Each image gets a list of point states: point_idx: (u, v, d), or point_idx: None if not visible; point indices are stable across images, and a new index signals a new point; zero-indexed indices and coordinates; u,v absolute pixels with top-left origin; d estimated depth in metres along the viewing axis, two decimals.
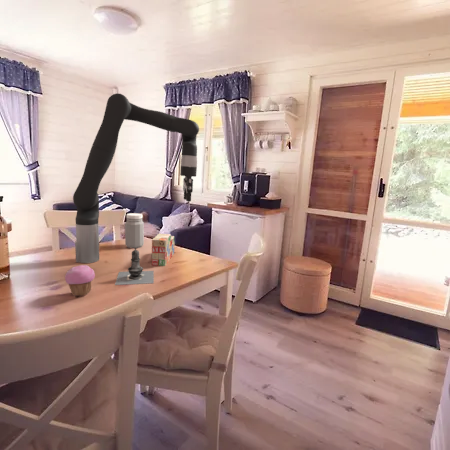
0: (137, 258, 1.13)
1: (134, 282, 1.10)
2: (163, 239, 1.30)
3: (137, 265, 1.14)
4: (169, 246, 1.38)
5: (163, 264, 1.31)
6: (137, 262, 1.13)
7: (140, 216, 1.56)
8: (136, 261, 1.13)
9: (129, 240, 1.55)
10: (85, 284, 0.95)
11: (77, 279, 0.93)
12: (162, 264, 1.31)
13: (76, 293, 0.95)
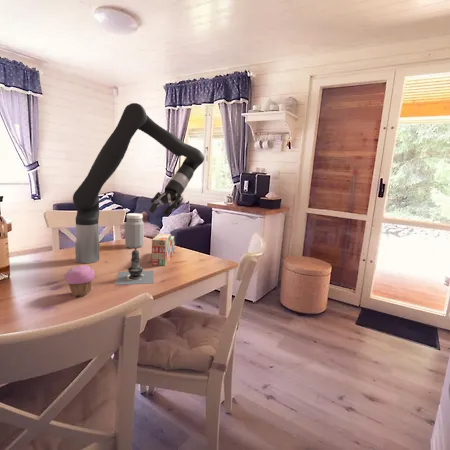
0: (137, 258, 1.13)
1: (134, 282, 1.10)
2: (163, 239, 1.30)
3: (137, 265, 1.14)
4: (169, 246, 1.38)
5: (163, 264, 1.31)
6: (137, 262, 1.13)
7: (140, 216, 1.56)
8: (136, 261, 1.13)
9: (129, 240, 1.55)
10: (85, 284, 0.95)
11: (77, 279, 0.93)
12: (162, 264, 1.31)
13: (76, 293, 0.95)
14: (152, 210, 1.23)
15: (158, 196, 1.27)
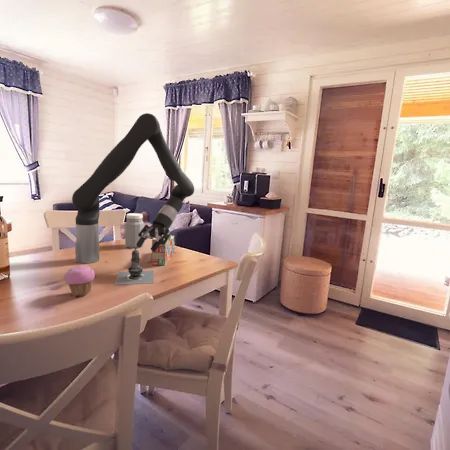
0: (137, 258, 1.13)
1: (134, 282, 1.10)
2: None
3: (137, 265, 1.14)
4: (169, 246, 1.38)
5: (163, 264, 1.31)
6: (137, 262, 1.13)
7: (140, 216, 1.56)
8: (136, 261, 1.13)
9: (129, 240, 1.55)
10: (85, 284, 0.95)
11: (77, 279, 0.93)
12: (162, 264, 1.32)
13: (76, 293, 0.95)
14: (139, 244, 1.20)
15: (146, 229, 1.24)
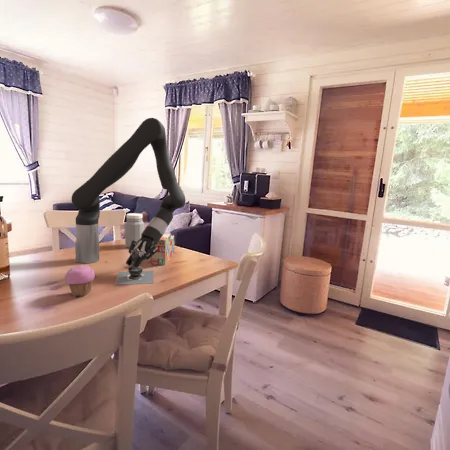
0: None
1: (134, 282, 1.10)
2: (163, 238, 1.31)
3: None
4: (169, 245, 1.39)
5: (163, 263, 1.32)
6: None
7: (140, 216, 1.56)
8: None
9: (129, 240, 1.55)
10: (85, 284, 0.95)
11: (77, 279, 0.93)
12: (162, 263, 1.32)
13: (76, 293, 0.95)
14: (129, 262, 1.14)
15: (134, 244, 1.19)
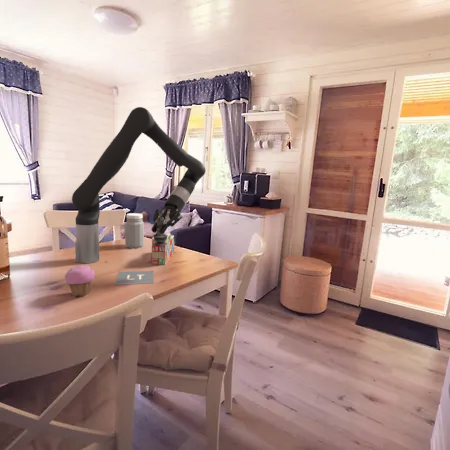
0: None
1: (134, 282, 1.10)
2: None
3: None
4: (169, 245, 1.39)
5: (163, 263, 1.32)
6: None
7: (140, 216, 1.56)
8: None
9: (129, 240, 1.55)
10: (85, 284, 0.95)
11: (77, 279, 0.93)
12: (162, 263, 1.33)
13: (76, 293, 0.95)
14: (154, 229, 1.16)
15: (158, 213, 1.21)
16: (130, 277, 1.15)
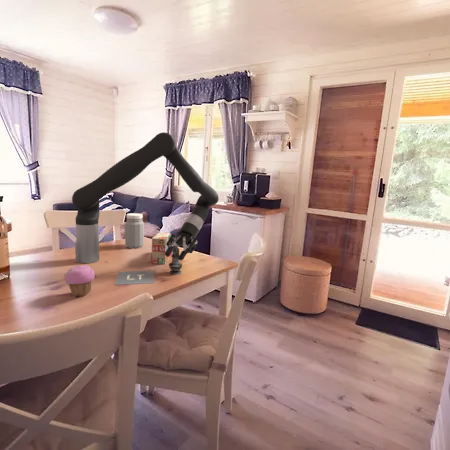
0: (177, 255, 1.21)
1: (134, 282, 1.10)
2: (163, 238, 1.32)
3: (177, 261, 1.21)
4: None
5: (163, 262, 1.33)
6: (177, 258, 1.21)
7: (140, 216, 1.56)
8: (177, 257, 1.21)
9: (129, 240, 1.55)
10: (85, 284, 0.95)
11: (77, 279, 0.93)
12: (162, 262, 1.33)
13: (76, 293, 0.95)
14: (168, 254, 1.23)
15: (173, 238, 1.27)
16: (130, 277, 1.15)
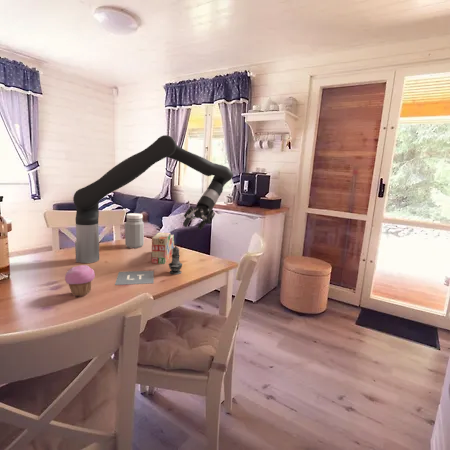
0: (177, 255, 1.21)
1: (134, 282, 1.10)
2: (163, 238, 1.33)
3: (177, 261, 1.21)
4: (169, 244, 1.41)
5: (163, 262, 1.34)
6: (177, 258, 1.21)
7: (140, 216, 1.56)
8: (176, 257, 1.21)
9: (129, 240, 1.55)
10: (85, 284, 0.95)
11: (77, 279, 0.93)
12: (162, 262, 1.34)
13: (76, 293, 0.95)
14: (186, 224, 1.32)
15: (190, 210, 1.36)
16: (130, 277, 1.15)
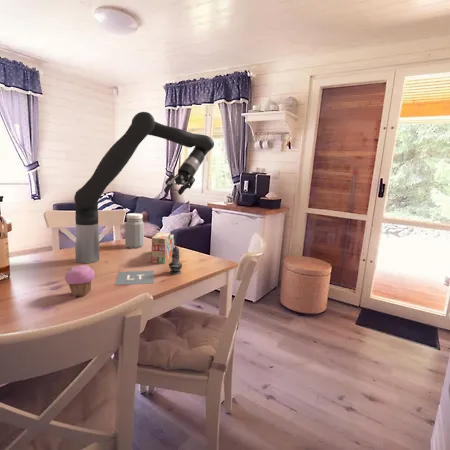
0: (177, 255, 1.21)
1: (134, 282, 1.10)
2: (163, 237, 1.33)
3: (177, 261, 1.21)
4: (169, 244, 1.41)
5: (163, 262, 1.34)
6: (177, 258, 1.21)
7: (140, 216, 1.56)
8: (177, 257, 1.21)
9: (129, 240, 1.55)
10: (85, 284, 0.95)
11: (77, 279, 0.93)
12: (162, 262, 1.34)
13: (76, 293, 0.95)
14: (166, 190, 1.34)
15: (172, 178, 1.38)
16: (130, 277, 1.15)
